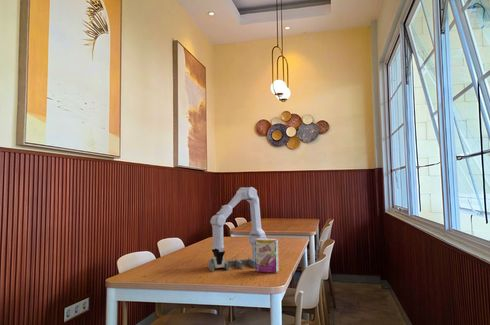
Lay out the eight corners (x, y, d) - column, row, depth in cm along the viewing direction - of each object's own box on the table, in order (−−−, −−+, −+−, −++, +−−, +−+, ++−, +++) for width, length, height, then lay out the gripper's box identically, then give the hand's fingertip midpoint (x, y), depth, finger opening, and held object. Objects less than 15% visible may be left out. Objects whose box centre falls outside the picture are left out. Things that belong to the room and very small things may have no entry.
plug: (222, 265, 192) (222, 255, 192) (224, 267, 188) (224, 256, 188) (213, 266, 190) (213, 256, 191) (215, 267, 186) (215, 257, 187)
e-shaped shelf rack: (249, 263, 201) (248, 254, 202) (255, 268, 189) (255, 258, 190) (208, 267, 195) (208, 257, 195) (212, 271, 183) (212, 262, 183)
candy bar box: (255, 272, 180) (254, 239, 181) (258, 270, 185) (257, 238, 186) (276, 273, 177) (275, 240, 178) (279, 271, 181) (278, 238, 182)
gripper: (208, 236, 196) (208, 261, 195) (213, 240, 182) (213, 267, 181) (220, 235, 198) (221, 260, 197) (226, 239, 184) (227, 265, 183)
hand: (218, 263), depth 189 cm, fingers closed on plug, 4 cm apart
